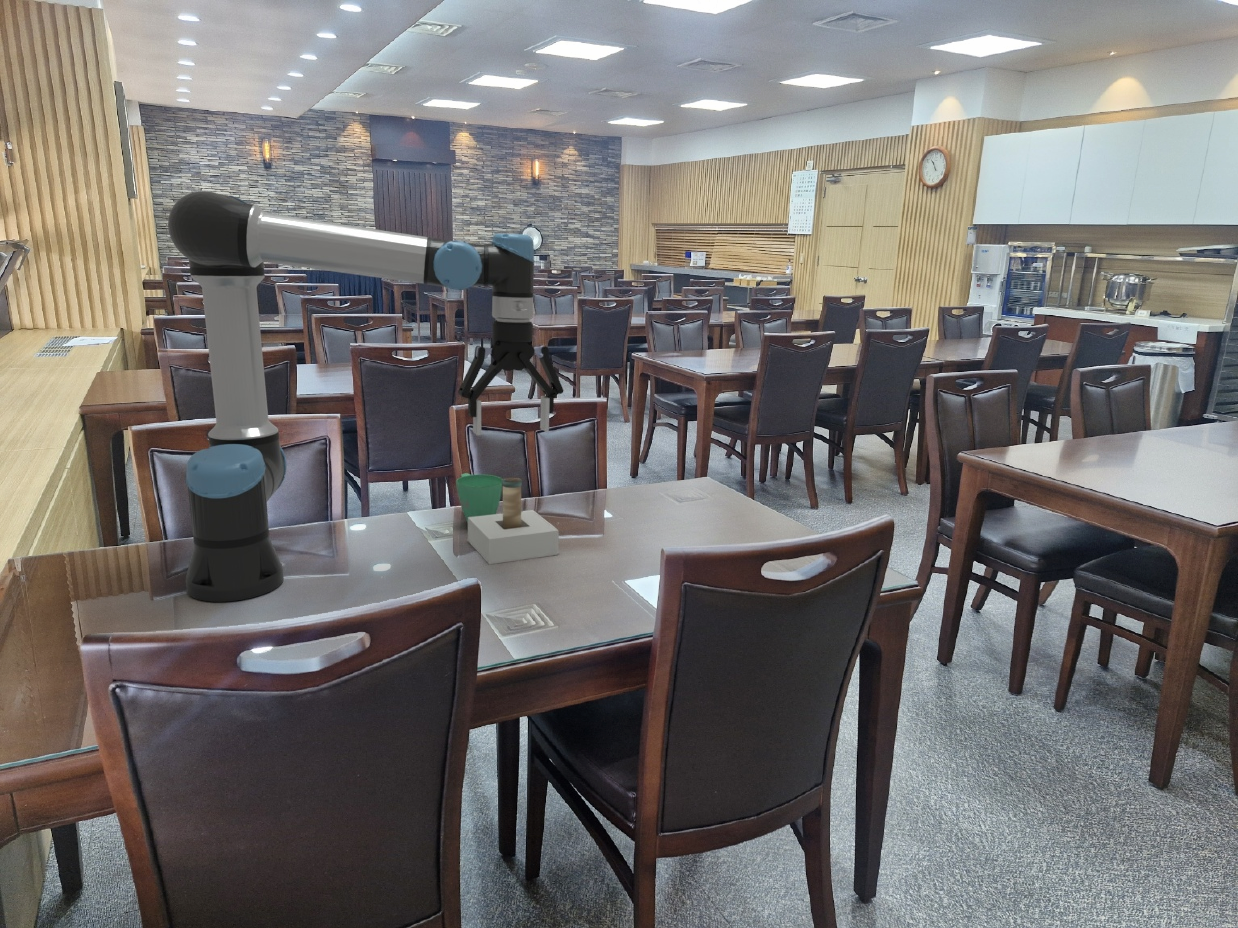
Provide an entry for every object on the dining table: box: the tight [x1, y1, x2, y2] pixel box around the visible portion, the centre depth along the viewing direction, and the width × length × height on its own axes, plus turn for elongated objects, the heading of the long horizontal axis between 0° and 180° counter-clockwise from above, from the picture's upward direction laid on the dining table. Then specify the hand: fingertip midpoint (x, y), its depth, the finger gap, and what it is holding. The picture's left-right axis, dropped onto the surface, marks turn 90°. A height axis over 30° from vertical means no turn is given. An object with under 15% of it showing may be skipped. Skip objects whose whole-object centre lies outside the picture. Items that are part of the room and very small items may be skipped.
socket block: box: [467, 509, 560, 565], centre depth 161 cm, size 14×14×5 cm
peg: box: [502, 477, 523, 529], centre depth 160 cm, size 4×4×14 cm
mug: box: [455, 472, 504, 524], centre depth 175 cm, size 15×10×10 cm
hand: (511, 432), depth 156 cm, fingers open, 13 cm apart
